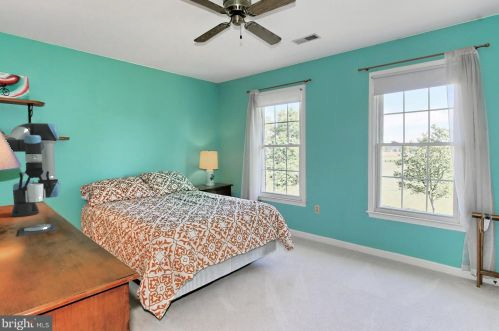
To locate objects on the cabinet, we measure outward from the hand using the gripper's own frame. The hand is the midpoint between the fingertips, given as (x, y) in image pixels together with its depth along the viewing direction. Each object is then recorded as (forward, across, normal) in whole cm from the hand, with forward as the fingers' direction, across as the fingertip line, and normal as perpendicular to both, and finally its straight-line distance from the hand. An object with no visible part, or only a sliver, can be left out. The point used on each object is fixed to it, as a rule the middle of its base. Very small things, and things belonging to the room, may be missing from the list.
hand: (36, 200), depth 157 cm
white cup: (0, 0, 0) cm, 0 cm away
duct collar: (+16, 0, -6) cm, 17 cm away
